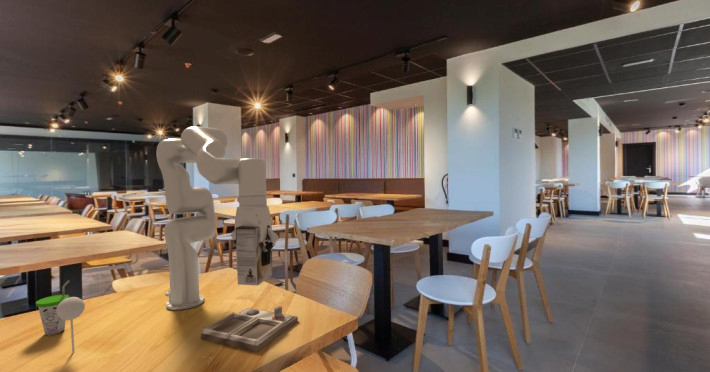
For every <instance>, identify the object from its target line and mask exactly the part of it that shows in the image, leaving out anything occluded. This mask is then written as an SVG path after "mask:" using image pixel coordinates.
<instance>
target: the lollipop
mask: <svg viewBox="0 0 710 372" xmlns="http://www.w3.org/2000/svg"><path fill="white" fill-rule="evenodd" d="M85 308H86V304H85V301H84V300H83V299H81V298H80V297H77V296H69V298H66V299H64V300H63V301H62V302H60V304H59V305H58V307H57V309H56V313H57V315H58V317H59V318H61V319H63V320H66V321H70V334H71V335H70V336H71V351H72V352H73V353H75V337H74V324H73V323H74V321H73V320H75V319H77V318H79V317H80V316H81V315H82V314H83V313H84V311H85ZM72 352H71V353H72Z"/></svg>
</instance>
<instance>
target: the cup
mask: <svg viewBox="0 0 710 372" xmlns="http://www.w3.org/2000/svg"><path fill="white" fill-rule="evenodd" d="M69 283H70V280H66V282H65V283H64V284H63V285H62V287H61V292H62V294H55V295H51V296H47V297H46V296H45V297H43V298H40V299H38V300H37V301H35V307H37V308H38V311H39V316H40V320H41V325H42V327H43V331H44V335H45V334H46V335H51V336H53V335H52V334H56V333H59V332H61V331H63V330H64V331H65V330H66V328H65V327H66V322H67V320H63V319H61V318H59V317H58V315H57V313H56V309H57V307H58V305H59V304H60V302H62V301H63V300H64V299H66V298H69V297H70V295H69V294H66V293H65V291H66V290H65V287H66V286H67V285H68V284H69ZM64 331H63V332H64ZM61 333H62V332H61ZM59 334H60V333H59ZM46 335H45V336H46ZM56 335H57V334H56Z"/></svg>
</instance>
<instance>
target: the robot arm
mask: <svg viewBox="0 0 710 372" xmlns="http://www.w3.org/2000/svg"><path fill="white" fill-rule="evenodd" d="M227 146H228V137H227V135H226V133H225V132H224V130H222V129H220V128H216V127H205V126H196V125H195V126H189V127H187V128H185V129H184V130H183V131H182V132H181V134H180V138H168V139H166V138H165V139H163V140H161V141H160V142H159V143H158V145H157V146H156V161H157V164H158V168H159V170H160V171H161V174H162V177H163V185H164V187H163V188H164V194H165V195H164V196H165V204H166V208H167V211H168V212H169V213H170V214H173V215H185V214H193V213H197V215H195V216H186V217H179V218H174V219H171V220H169V221H168V222H166V223H165V225H164V228H163V229H164V230H163V231H164V237H165V240H166V241H165V243H166V246H167V253H168V255H167V256H168V270H169V271H168V274H169V289H168V292H165V293H164V296H165V297H168V300H167V301H166V303H165V308H166V309H168V310H171V311H182V310H188V309H192V308H194V307H197V306H200V305H201V304H202V303H203V302H205V297H204V295H201V294H200V281H199V280H200V276H199V256H198V255H199V254H198V253H197V250H195V248H194V247H193V246H192V245H191V244H192V243H196V242H202V241H207V240H208V241H209V240H211V239H212V238H214V237H215V235H216V232H217V222H216V214H215V213H216V212H215V205H214V198H213V194H212V192H211V191H210V189H209V188H206V187H204V186H203V187H202V186H197V187H192V185H191V177H190V174H189V172H188V171H187V170H186V168H185V167H184V166H183V165H181V163H182V164H184V163H185V164H192V163H193V164H196V168H197V170H198V173H199V174H200V176H202V177H203V178H204V179H205V180H206V181H208V182H209V183H211V184H214V185H231V184H232V185H236V184H237V185H238V197H237V199H236V201H237V202H238V206H237V207H236V211H235V216H234V217H235V219H234V230H233V231H232V233H231V234H230V237H231V239H232V240H233V243H234V244H235V245H236V227H239V226H248V227H258V242H259V243H261V247H262V249H263V252H261V260H262V266H265V265H268V264H270V261H271V255H272V252H271V253H270V250H271V251H272V250H273V248H274V246H276V243H277V242H278V241H279V239H280V237H279V236H278V234H277V233H275V232H274V231H273V229H272V228H273V225H272V218H271V217H272V216H271V211H270V207H269V206H267V205H268V204H267V203H268V201H267V199H268V198H267V171H266V170H267V169H266V165H267V164H266V161H265V160H264V159H263V158H260V157H249V158H248V157H245V158H235V157H234V158H233V157H231V158H230V157H225V154H226V148H227ZM270 239H271V241H269V240H270ZM265 243H266V245H267V246H266V245H265Z"/></svg>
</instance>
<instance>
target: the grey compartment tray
mask: <svg viewBox="0 0 710 372" xmlns="http://www.w3.org/2000/svg"><path fill="white" fill-rule="evenodd" d="M273 310H274V311H269V310H263V309H256V308H251V307H247V308H245V309H243V310H241V311H239V312H232V313H230V314H228V315H226V316H224V317H222V318H220V319H219V320H217V321H215V322H213V323H211V324H209V325H208V326H206V327H204V328H202V329H201V333H200V339H201V340H203V341H208V342H211V343H217V344H219V345H220V344H221V345H224V346H229V347H233V348H237V349H242V350H245V351H246V350H247V351H250V352H255V353H258V352H260V351H261V350H262V349H263V348H264V347H266V346H268V345H269V344H270V343H271V342H273V340H275V339H276V338H278V337H279V336H281V334H283V333H284V332H286V331H287V330H289V329H290V328H291V327H292V326H294V325H295V324H296V323H298V322H299V317H298V315H297V316H296V315H291V314H284V313H283V307H282V306H281V305H277V306H274V307H273Z"/></svg>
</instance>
